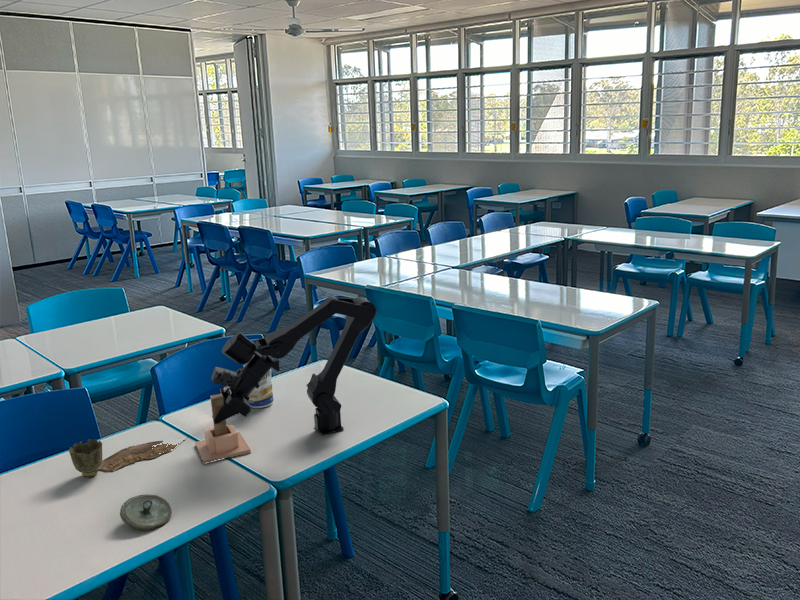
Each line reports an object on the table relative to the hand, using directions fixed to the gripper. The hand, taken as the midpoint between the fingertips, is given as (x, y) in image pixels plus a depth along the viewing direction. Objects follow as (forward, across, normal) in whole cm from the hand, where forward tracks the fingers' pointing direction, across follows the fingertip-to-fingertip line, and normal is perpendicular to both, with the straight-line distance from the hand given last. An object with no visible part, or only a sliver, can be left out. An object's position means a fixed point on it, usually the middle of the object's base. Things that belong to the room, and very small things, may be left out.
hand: (214, 420), depth 172 cm
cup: (+28, 0, -16) cm, 32 cm away
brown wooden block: (+4, 0, +6) cm, 7 cm away
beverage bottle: (-5, -27, +17) cm, 32 cm away
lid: (+19, +27, -6) cm, 34 cm away
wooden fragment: (+20, -7, -7) cm, 22 cm away
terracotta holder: (+5, 0, +7) cm, 9 cm away
